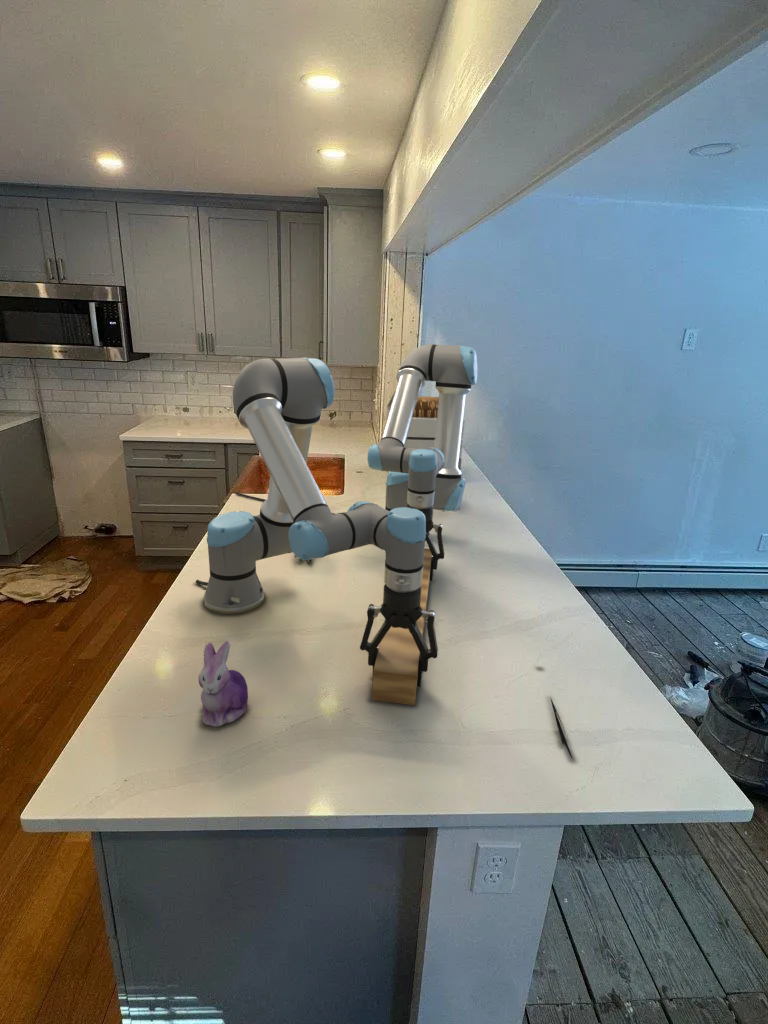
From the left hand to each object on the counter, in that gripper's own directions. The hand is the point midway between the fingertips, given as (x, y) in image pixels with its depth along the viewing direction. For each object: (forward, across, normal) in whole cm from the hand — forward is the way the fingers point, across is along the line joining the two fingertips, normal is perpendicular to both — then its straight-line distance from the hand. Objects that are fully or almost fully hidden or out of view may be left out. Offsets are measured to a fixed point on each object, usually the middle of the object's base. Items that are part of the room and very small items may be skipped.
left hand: (396, 680), depth 120 cm
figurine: (+1, -32, -16) cm, 35 cm away
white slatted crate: (+1, -7, +164) cm, 165 cm away
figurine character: (+1, -35, +59) cm, 68 cm away
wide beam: (+1, 0, +25) cm, 25 cm away
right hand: (0, 0, +50) cm, 50 cm away
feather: (+1, +32, -3) cm, 32 cm away
